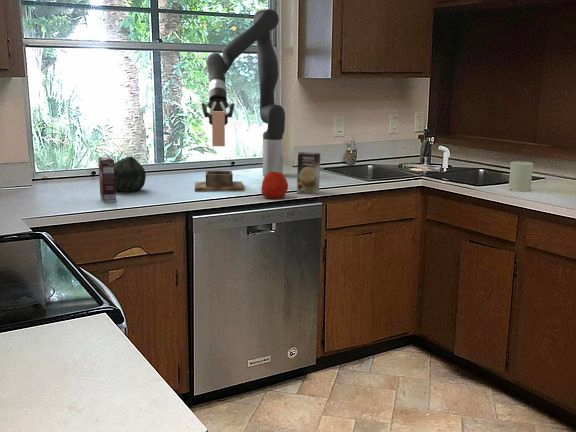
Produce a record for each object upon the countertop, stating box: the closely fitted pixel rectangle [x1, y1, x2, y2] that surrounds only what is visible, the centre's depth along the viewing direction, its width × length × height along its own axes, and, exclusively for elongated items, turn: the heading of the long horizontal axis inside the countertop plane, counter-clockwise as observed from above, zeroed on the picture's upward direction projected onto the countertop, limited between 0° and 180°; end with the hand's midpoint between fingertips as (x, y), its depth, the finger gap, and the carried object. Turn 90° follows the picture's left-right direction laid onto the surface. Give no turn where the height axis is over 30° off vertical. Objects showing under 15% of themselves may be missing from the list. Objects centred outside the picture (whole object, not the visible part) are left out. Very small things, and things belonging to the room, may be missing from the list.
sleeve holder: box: [194, 170, 245, 192], centre depth 268 cm, size 20×15×6 cm
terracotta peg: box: [211, 111, 226, 147], centre depth 263 cm, size 5×5×14 cm
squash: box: [114, 156, 147, 193], centre depth 258 cm, size 14×15×15 cm
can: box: [508, 160, 534, 192], centre depth 272 cm, size 9×9×12 cm
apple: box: [261, 171, 289, 200], centre depth 249 cm, size 10×10×10 cm
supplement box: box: [97, 156, 117, 204], centre depth 238 cm, size 9×5×16 cm, turn 24°
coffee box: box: [296, 151, 321, 195], centre depth 259 cm, size 9×6×16 cm
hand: (218, 123), depth 261 cm, fingers closed on terracotta peg, 5 cm apart
